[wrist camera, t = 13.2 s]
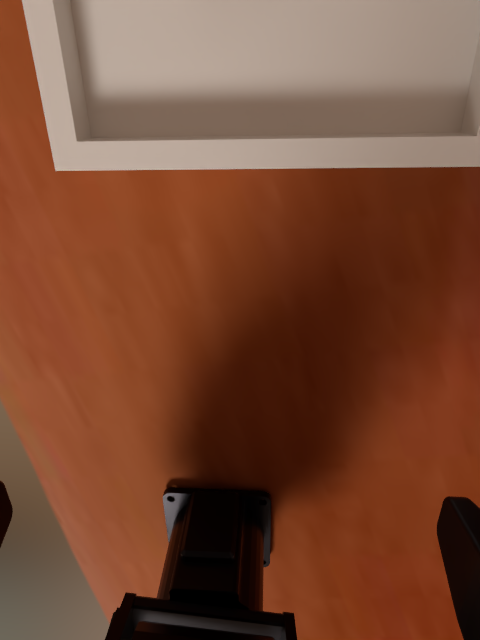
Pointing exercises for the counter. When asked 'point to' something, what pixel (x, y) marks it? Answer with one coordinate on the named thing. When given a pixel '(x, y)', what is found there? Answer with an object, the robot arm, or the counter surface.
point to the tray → (258, 83)
